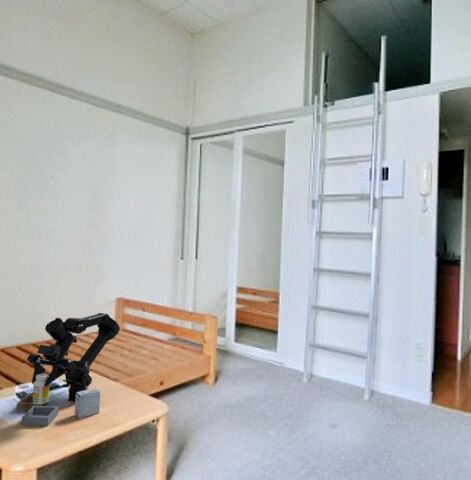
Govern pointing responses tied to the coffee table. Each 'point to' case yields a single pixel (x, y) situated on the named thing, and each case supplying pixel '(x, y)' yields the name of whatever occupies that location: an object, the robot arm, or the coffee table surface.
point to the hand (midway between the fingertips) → (38, 384)
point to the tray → (40, 416)
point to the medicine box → (87, 402)
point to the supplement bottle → (40, 389)
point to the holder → (28, 403)
